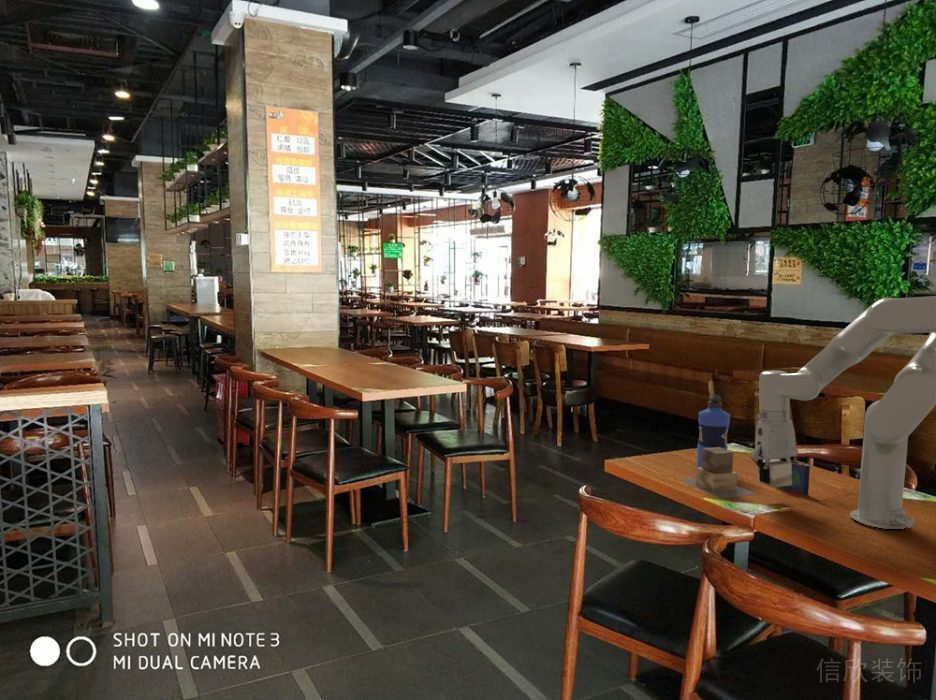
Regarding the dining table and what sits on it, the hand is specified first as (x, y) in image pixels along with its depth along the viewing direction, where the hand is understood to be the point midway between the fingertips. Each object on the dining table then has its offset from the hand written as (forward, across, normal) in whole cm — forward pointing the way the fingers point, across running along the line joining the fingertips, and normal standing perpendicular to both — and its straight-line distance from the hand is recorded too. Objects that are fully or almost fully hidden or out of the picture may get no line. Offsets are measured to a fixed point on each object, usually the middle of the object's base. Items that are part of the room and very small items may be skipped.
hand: (774, 480), depth 183 cm
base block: (+5, -7, +15) cm, 18 cm away
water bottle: (+6, +4, +31) cm, 32 cm away
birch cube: (+1, 0, 0) cm, 1 cm away
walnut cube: (0, -7, +15) cm, 17 cm away
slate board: (+6, -7, +15) cm, 18 cm away
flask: (+7, +13, +7) cm, 16 cm away
